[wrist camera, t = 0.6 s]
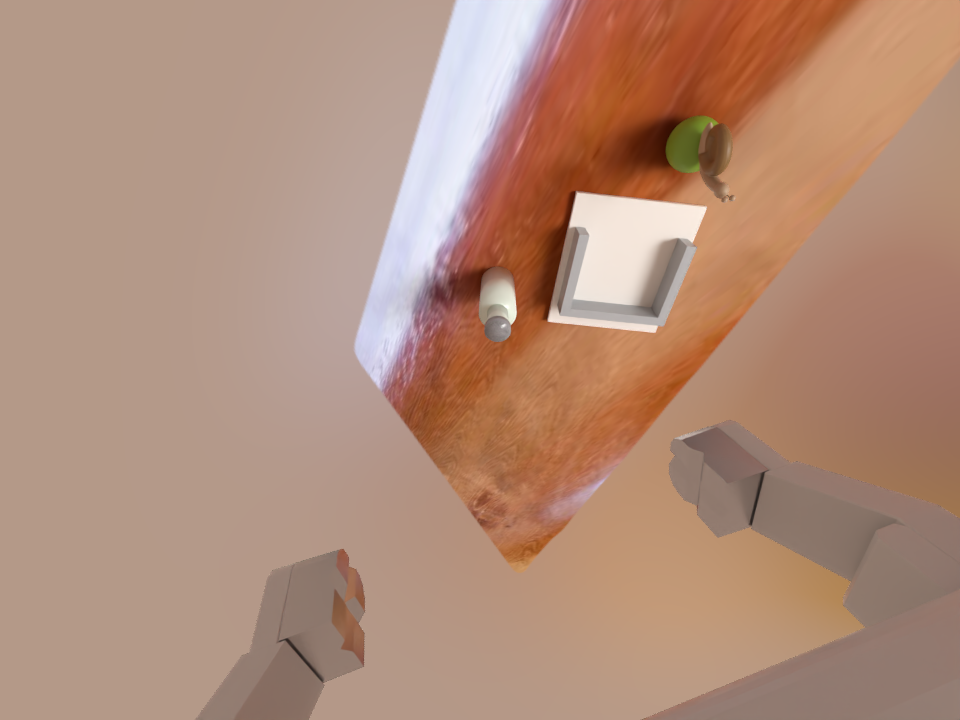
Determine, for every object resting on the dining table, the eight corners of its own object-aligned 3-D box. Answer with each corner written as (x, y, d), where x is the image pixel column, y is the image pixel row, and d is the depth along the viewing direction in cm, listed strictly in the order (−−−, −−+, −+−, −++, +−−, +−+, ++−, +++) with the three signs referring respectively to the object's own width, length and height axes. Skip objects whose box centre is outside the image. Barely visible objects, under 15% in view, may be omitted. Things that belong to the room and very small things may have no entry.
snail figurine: (658, 181, 48) (699, 209, 38) (659, 120, 44) (705, 134, 35) (706, 170, 47) (760, 196, 37) (711, 107, 44) (773, 118, 34)
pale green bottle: (483, 264, 55) (479, 310, 44) (516, 268, 55) (520, 315, 45) (479, 295, 58) (475, 345, 47) (511, 298, 58) (514, 349, 47)
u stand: (575, 191, 49) (581, 199, 46) (704, 205, 49) (718, 214, 46) (547, 318, 60) (549, 332, 56) (653, 329, 60) (661, 343, 57)
